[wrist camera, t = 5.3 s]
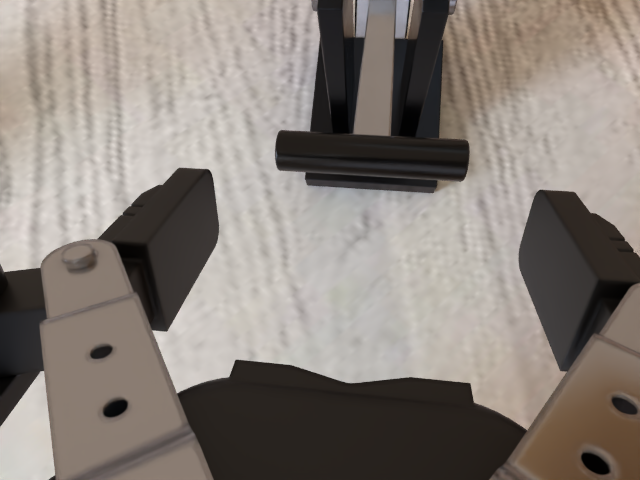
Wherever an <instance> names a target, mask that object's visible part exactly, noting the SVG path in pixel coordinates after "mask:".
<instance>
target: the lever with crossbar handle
mask: <svg viewBox="0 0 640 480" xmlns="http://www.w3.org/2000/svg"><path fill="white" fill-rule="evenodd" d="M410 2H411V0H355V37H360V38H364V46H363V55H362V63H361V72H360V80H359V88H358V97H357V105H356V113H355V122H354V130H353V134H346V133H327V132H308V131H289V130H281V131H279V133H278V135H277V139H276V146H275V160H276V166H277V169H278V170H280V171H295V172H311V173H328V174H344V175H360V176H377V177H393V178H410V179H426V180H442V181H459V182H461V181H463V180H464V179H465V177H466V174H467V170H468V164H469V153H470V151H469V143H468V141H467V140H462V139H442V138H423V137H404V136H391V116H392V94H393V72H394V50H395V39H405V38H406V36H407V27H408V19H409V10H410Z"/></svg>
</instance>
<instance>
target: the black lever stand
mask: <svg viewBox="0 0 640 480" xmlns="http://www.w3.org/2000/svg"><path fill="white" fill-rule="evenodd" d="M311 1H312V9H313V11H317V14H318V22H319V30H320V44H319V53H318V62H317V72H316V81H315V90H314V100H313V109H312V118H311V128H310V132H327V133H346V134H353V130H354V122H355V113H356V105H357V97H358V88H359V80H360V72H361V63H362V55H363V46H364V38H358V37H354V24H353V0H311ZM456 3H457V0H414V4H413V11H412V17H411V23H410V29H409V36H408V39H395V50H394V72H393V94H392V116H391V136H404V137H423V138H439V125H440V103H441V81H442V58H443V40H442V36H443V33H444V29H445V25H446V22H447V18H448V15H452V14H453V13H454V11H455V8H456ZM305 180H306V183H307V185H313V186H328V187H344V188H360V189H375V190H391V191H407V192H422V193H434V191H435V189H436V187H437V180H426V179H410V178H393V177H377V176H360V175H344V174H328V173H311V172H306V175H305Z"/></svg>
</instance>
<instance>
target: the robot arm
mask: <svg viewBox="0 0 640 480" xmlns="http://www.w3.org/2000/svg"><path fill="white" fill-rule="evenodd" d="M131 205H132V206H129V207H128V208H127V209H126V210H125V211H124V212H123V215H121V216H120V217H119V218H118V219H117V220H116V221H115V222H114V223H113V224H112V225H111V226H110V227H109V228H108V229H107V230H106V231H105V232H104V233H103V234H102V235H101V236H100V237H99V238H98V239H90V240H81V241H77V242H73V243H69V244H67V245H64V246H62V247H60V248H58V249H56V250H54V251H53V252H51V253H50V254H49V255H47V256H46V257H45V259H44V260H43V261H42V263H41V268H36V269H27V270H18V271H10V272H4V271H3V269H2V267H1V265H0V426H1V425H2V424H3V422H4V421H5V420H6V418H7V417H8V415H9V414H10V413H11V411H12V410H13V409H14V407H15V406H16V404H17V403H18V402H19V400H20V399H21V398H22V396H23V395H24V393H25V392H26V391H27V389H28V388H29V387H30V385H31V384H32V382H33V381H34V380H35V378H36V377H37V376H38V374H39V373H40V371H44V373H45V383H46V392H47V401H48V411H49V420H50V429H51V438H52V448H53V457H54V466H55V476H53V477H52V478H50V479H49V480H640V257H639V256H638V255H637V254H636V253H633V248H632V247H631V246H630V245H629V243H628V242H626V241H625V238H624V237H623V236H622V235H621V233H620V232H619V231H618V230H617V228H616V227H615V226H614V225H613V224H611V223H610V222H608V221H606V220H605V219H603V218H602V217H600V216H599V215H597V214H595V213H590V212H589V210H588V209H587V208H586V206H585V205H584V204H583V202H582V201H581V200H580V198H579V197H578V196H577V194H576V193H575V192H568V191H551V190H539V191H538V192H537V193H536V195H535V197H534V200H533V203H532V206H531V210H530V213H529V217H528V220H527V223H526V227H525V230H524V234H523V237H522V241H521V244H520V249H519V268H520V271H521V274H522V276H523V279H524V281H525V284H526V286H527V289H528V291H529V294H530V296H531V299H532V301H533V304H534V306H535V309H536V311H537V314H538V316H539V319H540V321H541V324H542V326H543V329H544V331H545V334H546V336H547V339H548V341H549V344H550V346H551V349H552V351H553V354H554V356H555V359H556V361H557V364H558V366H559V369H560V371H567V373H566V374H565V376H564V377H563V379H562V380H561V382H560V383H559V385H558V386H557V388H556V389H555V391H554V392H553V394H552V395H551V397H550V398H549V400H548V401H547V402H546V404H545V405H544V407H543V408H542V410H541V411H540V413H539V414H538V416H537V417H536V419H535V420H534V422H533V423H532V425H531V426H530V427H529V429H528V430H526V429H524V428H523V427H522V426H520V425H518V424H517V423H515V422H514V421H512V420H511V419H509V418H507V417H505V416H503V415H502V414H500V413H498V412H496V411H494V410H491V409H489V408H487V407H484V406H482V405H479V404H476V403H474V401H473V396H472V390H471V385H470V383H462V382H452V381H442V380H432V379H422V378H412V377H409V378H399V379H390V380H381V381H372V382H362V383H345V382H341V381H338V380H335V379H332V378H329V377H326V376H323V375H320V374H317V373H313V372H310V371H307V370H304V369H301V368H298V367H295V366H292V365H283V364H274V363H264V362H254V361H244V360H235V363H234V366H233V369H232V371H231V374H230V377H228V378H220V379H216V380H211V381H207V382H204V383H201V384H198V385H195V386H192V387H190V388H188V389H185V390H183V391H181V392H179V393H176V390H175V388H174V385H173V383H172V380H171V377H170V375H169V372H168V370H167V367H166V365H165V362H164V360H163V357H162V355H161V352H160V349H159V347H158V344H157V342H156V339H155V337H154V334H153V332H152V330H156V331H166V332H167V331H168V329H169V327H170V325H171V324H172V322H173V320H174V318H175V317H176V315H177V313H178V311H179V310H180V308H181V306H182V304H183V303H184V301H185V299H186V297H187V295H188V294H189V292H190V290H191V288H192V287H193V285H194V283H195V281H196V280H197V278H198V276H199V274H200V273H201V271H202V269H203V267H204V266H205V264H206V262H207V260H208V258H209V257H210V255H211V253H212V251H213V250H214V248H215V246H216V243H217V240H218V234H219V221H218V214H217V206H216V198H215V190H214V183H213V177H212V174H211V172H210V170H208V169H193V168H178V169H177V170H176V171H175V172H174V173H173V174H172V176H171V177H170V178H169V179H168V180H167V181H166V182H165V183H164V184H163V185H158V186H156V187H154V188H152V189H150V190H148V191H146V192H144V193H142V194H141V195H140V196H139V197H138V198H137V199H136V200H135V201H134V202H133V203H132V204H131Z"/></svg>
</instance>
